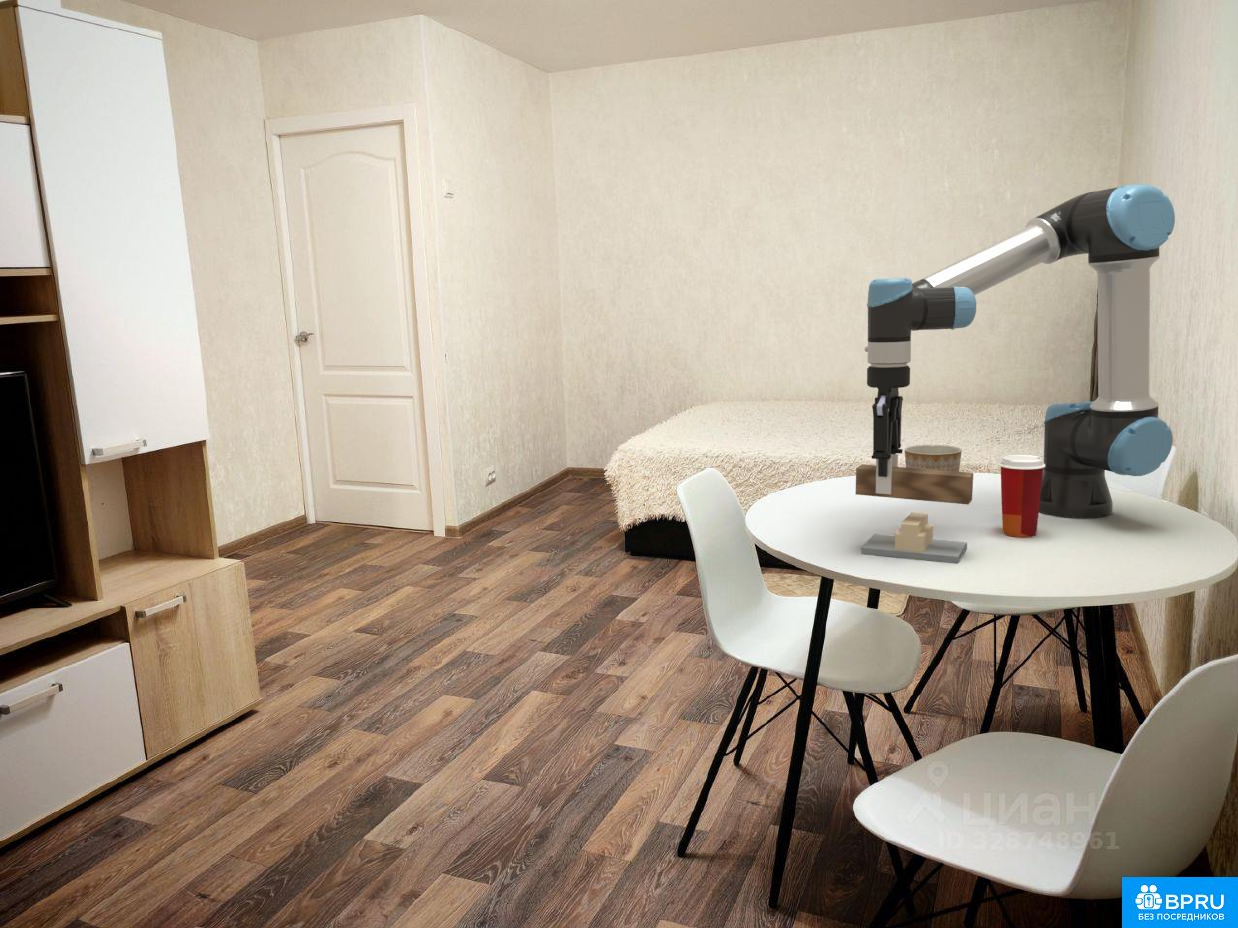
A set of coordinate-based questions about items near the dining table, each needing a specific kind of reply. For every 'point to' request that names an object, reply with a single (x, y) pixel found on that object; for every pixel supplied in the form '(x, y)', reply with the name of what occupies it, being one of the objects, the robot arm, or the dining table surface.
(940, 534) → the dining table surface
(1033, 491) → the coffee cup
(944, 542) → the fulcrum
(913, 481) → the bar
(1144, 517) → the dining table surface
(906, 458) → the planter
